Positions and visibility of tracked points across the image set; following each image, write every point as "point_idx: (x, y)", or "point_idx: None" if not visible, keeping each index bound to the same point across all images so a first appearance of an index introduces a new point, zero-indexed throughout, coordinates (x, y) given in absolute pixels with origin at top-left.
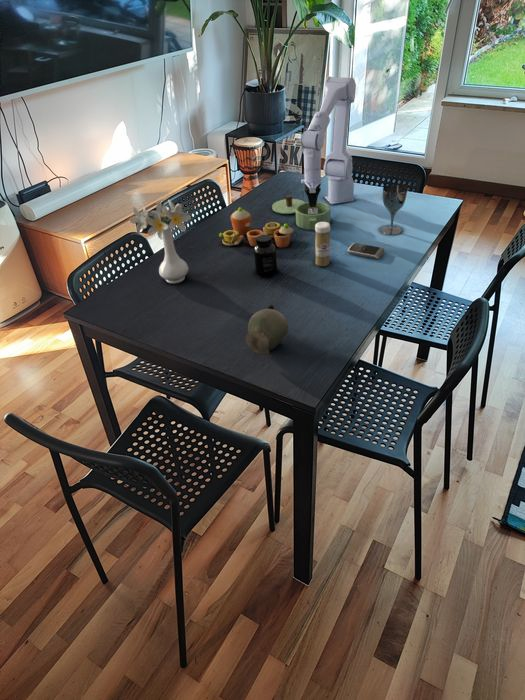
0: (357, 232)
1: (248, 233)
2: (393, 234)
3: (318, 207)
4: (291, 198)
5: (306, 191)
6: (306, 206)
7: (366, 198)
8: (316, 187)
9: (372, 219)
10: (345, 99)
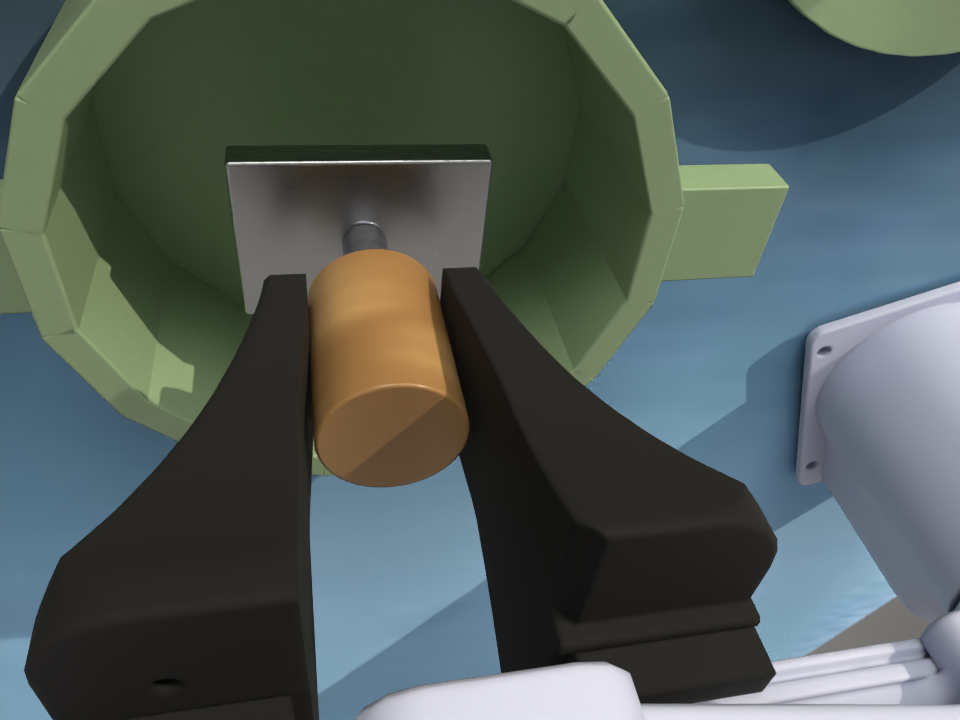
0: None
1: None
2: None
3: (576, 283)
4: None
5: (42, 610)
6: (619, 122)
7: (797, 535)
8: (508, 646)
9: (390, 593)
10: None
